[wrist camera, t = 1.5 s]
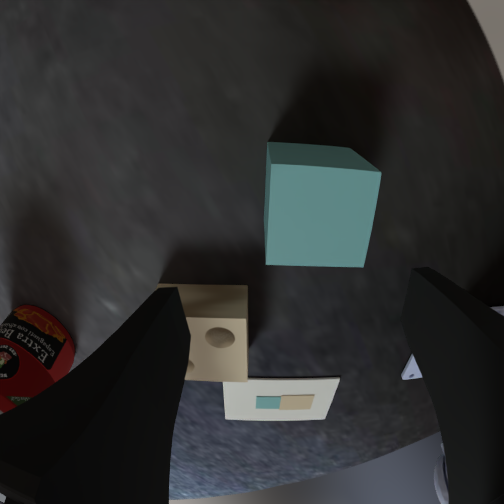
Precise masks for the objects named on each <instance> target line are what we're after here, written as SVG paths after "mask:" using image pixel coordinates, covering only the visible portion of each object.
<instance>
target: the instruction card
mask: <svg viewBox="0 0 504 504" xmlns="http://www.w3.org/2000/svg"><path fill="white" fill-rule="evenodd" d="M339 381H340V377H328V378H248V382H223V390H224V405H225V418H226V419H231V420H260V421H289V420H319V419H325V417H326V415H327V412H328V410H329V407H330V405H331V402H332V399H333V397H334V394H335V391H336V389H337V386H338V383H339Z"/></svg>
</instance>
